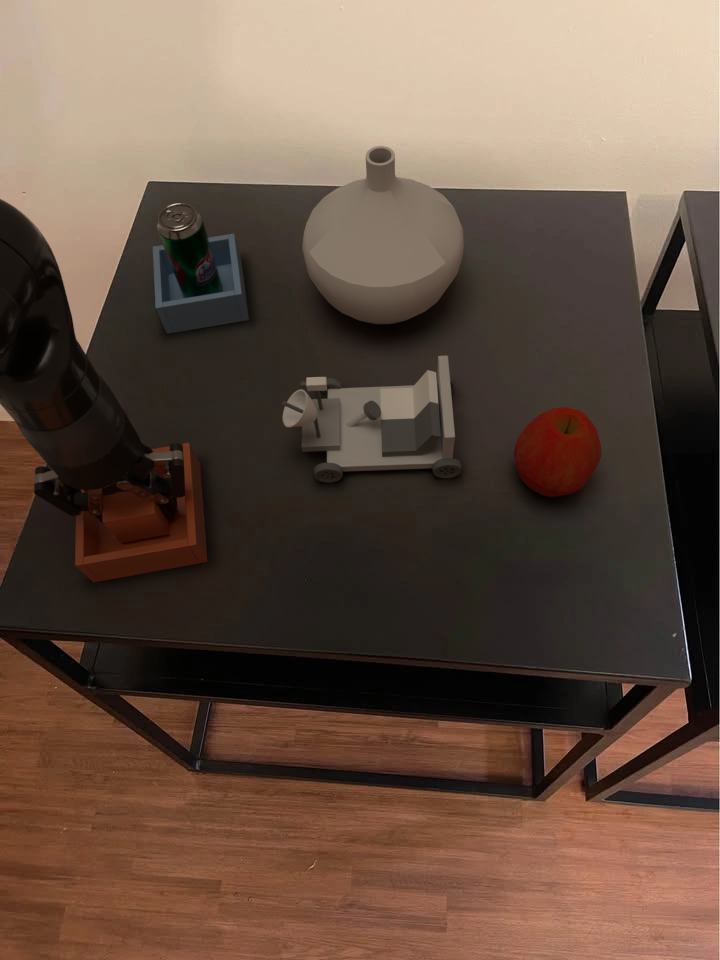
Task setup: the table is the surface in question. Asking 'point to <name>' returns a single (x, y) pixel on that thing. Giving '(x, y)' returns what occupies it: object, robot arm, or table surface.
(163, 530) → the block
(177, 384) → the table surface
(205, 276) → the soda can
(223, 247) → the blue bin
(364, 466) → the toy car
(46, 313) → the robot arm
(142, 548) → the terracotta bin
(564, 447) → the apple
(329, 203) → the vase
